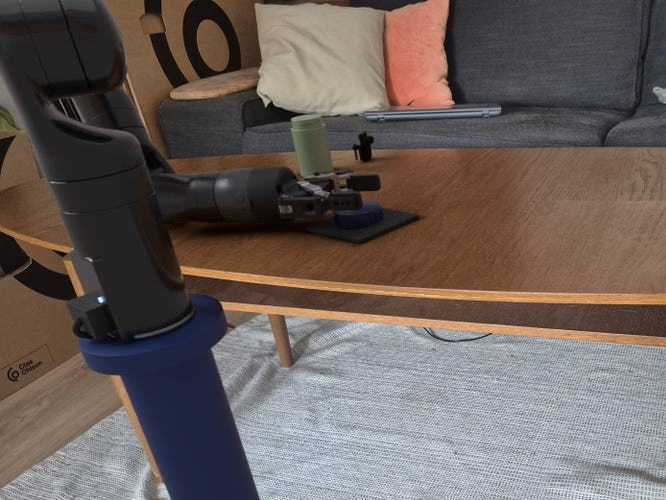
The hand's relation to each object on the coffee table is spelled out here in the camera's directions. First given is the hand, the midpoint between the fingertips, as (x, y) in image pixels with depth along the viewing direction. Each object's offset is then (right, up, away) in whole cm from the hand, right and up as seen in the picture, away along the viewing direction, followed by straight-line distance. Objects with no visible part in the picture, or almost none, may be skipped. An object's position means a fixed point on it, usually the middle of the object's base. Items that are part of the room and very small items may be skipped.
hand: (370, 191), depth 89 cm
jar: (-15, +11, +31) cm, 36 cm away
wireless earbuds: (-6, +15, +36) cm, 40 cm away
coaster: (-1, -4, +3) cm, 5 cm away
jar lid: (-2, -2, +2) cm, 4 cm away
